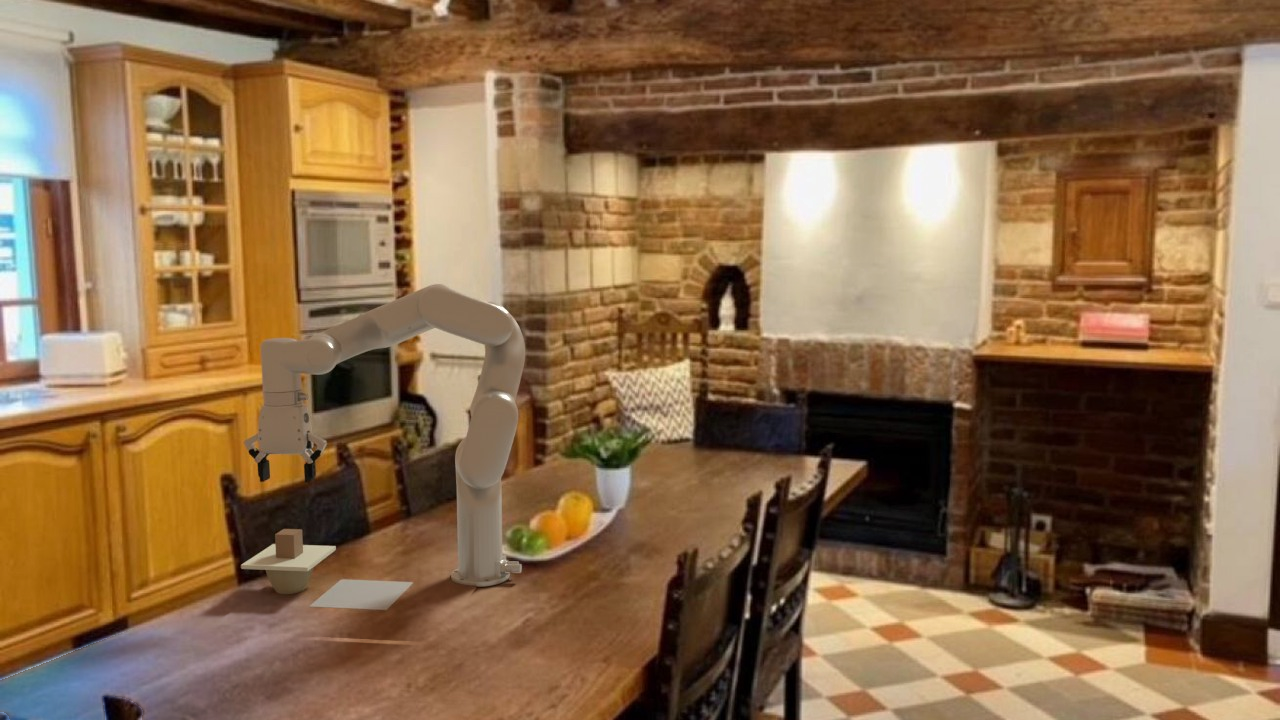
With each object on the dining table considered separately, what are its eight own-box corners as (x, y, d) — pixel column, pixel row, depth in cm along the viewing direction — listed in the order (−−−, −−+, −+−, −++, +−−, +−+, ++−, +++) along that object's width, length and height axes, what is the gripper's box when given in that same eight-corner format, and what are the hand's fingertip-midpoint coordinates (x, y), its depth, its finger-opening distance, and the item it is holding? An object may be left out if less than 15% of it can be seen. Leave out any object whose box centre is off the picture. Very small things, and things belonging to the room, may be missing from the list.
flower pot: (300, 602, 206) (298, 568, 205) (255, 598, 207) (254, 564, 207) (325, 585, 215) (323, 553, 214) (282, 582, 217) (280, 550, 216)
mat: (413, 584, 216) (413, 582, 216) (386, 612, 200) (386, 609, 200) (341, 581, 217) (341, 579, 217) (309, 609, 202) (308, 606, 202)
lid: (335, 549, 217) (334, 523, 216) (307, 571, 203) (306, 543, 202) (273, 547, 218) (272, 521, 217) (241, 568, 204) (239, 540, 204)
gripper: (331, 396, 209) (335, 477, 211) (251, 395, 211) (256, 475, 213) (315, 402, 202) (319, 486, 204) (233, 401, 204) (238, 484, 206)
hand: (287, 480), depth 208 cm, fingers open, 9 cm apart
